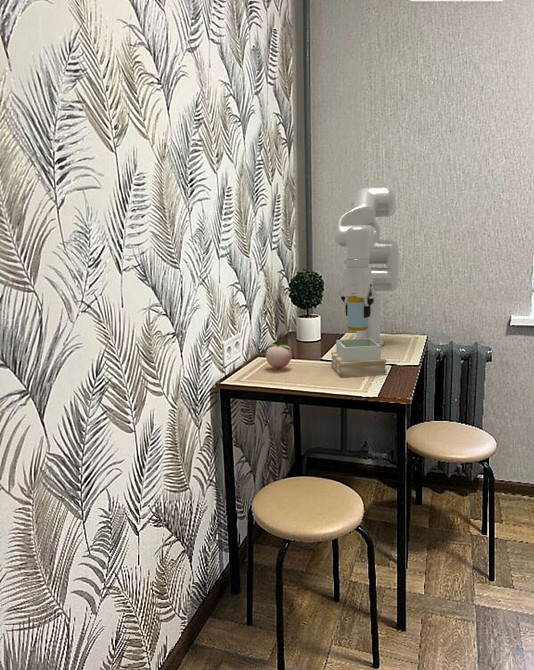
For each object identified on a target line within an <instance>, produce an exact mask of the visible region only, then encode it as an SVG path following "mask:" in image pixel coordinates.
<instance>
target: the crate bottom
mask: <svg viewBox="0 0 534 670" xmlns="http://www.w3.org/2000/svg"><path fill="white" fill-rule="evenodd" d="M330 354H331V356H332V357H331V359H332V361H331V362H330V365H331V367H332V368H333V369H334V370H335V372H336V374H338V375H339V377H340V378H351V377H353V378H354V377H365V376H366V377H369V376H370V377H371V376H383V375H384V376H385V375H386V374H387V369H386V364H387V360H386V359H385V358H384V357H383V356H381V360H367V361H349V362H344V361H343V360H342V359H341V358H340V357H339V356H338V355H337V353H336V351H334V352H333V351H332V352H331V353H330Z"/></svg>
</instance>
